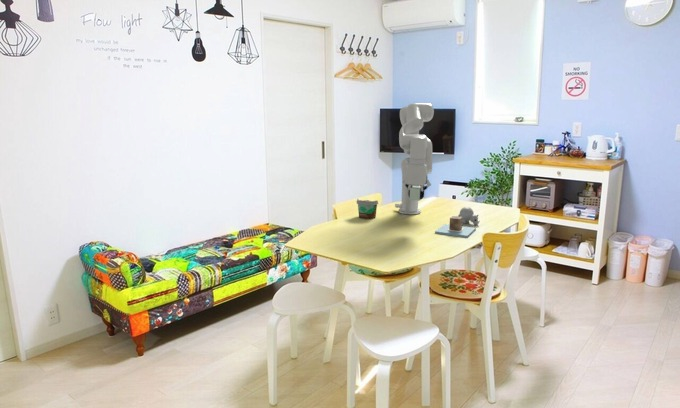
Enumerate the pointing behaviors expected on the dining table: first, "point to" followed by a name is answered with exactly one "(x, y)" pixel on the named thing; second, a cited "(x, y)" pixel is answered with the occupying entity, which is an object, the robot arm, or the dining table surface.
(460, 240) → the dining table surface
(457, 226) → the walnut block
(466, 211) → the chubby cartoon animal
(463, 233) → the build board
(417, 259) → the dining table surface
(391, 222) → the dining table surface
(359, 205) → the food container
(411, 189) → the sage block
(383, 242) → the dining table surface
